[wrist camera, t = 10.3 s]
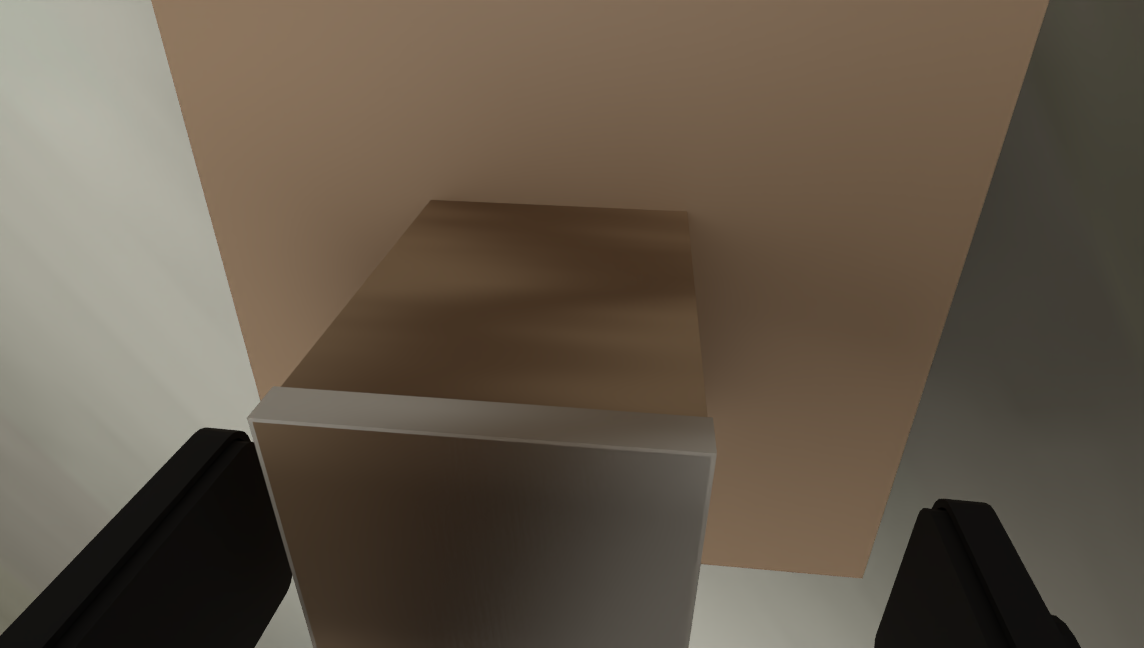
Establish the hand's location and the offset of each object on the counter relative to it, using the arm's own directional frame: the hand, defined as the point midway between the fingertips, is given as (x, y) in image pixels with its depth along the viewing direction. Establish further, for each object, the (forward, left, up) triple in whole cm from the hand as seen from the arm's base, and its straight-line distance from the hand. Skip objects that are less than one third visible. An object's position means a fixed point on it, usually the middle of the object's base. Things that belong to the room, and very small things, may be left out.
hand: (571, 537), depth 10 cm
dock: (+1, 0, -9) cm, 9 cm away
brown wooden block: (+1, 0, -6) cm, 6 cm away
